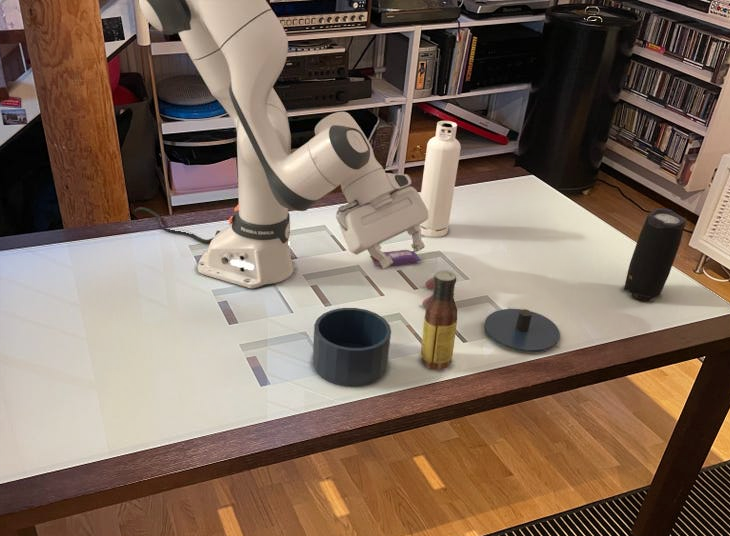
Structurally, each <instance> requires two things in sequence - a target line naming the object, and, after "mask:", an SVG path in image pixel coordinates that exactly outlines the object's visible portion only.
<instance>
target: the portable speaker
mask: <svg viewBox="0 0 730 536" xmlns="http://www.w3.org/2000/svg"><path fill="white" fill-rule="evenodd" d="M686 225H687V217H684V216H682V215H680V214H678V213H676V212H674V211H673V210H672V209H670V208H666V207H665V208H663V207H662V208H654V209H653V210H652V211H650V212H649V213H648V214H647V216H646V218H645V221H644V223H643V226H642V228H641V230H640V231H639V232H640V233H639V236H638V238H637V242H636V245H635V247H634V250H633V253H632V256H631V259H630V261H629V265H628V270H627V272H626V273H627V274H626V278H625V282H624V288H623V290H624V291H627V292H628V293H629V294H630V295H631V297H632V299H634V300H637V301H639V302H651V301H652V300H654V299H655V298H657V297H659V296H660V295H661V294H662V292H663V290H664V287H665V284H666V283H667V280H668V278H669V275H670V273H671V271H672V269H673V265H674V262H675V259H676V256H677V253H678V250H679V249H680V245H681V241H682V238H683V234H684V229H685V227H686Z"/></svg>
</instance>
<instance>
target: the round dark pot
mask: <svg viewBox="0 0 730 536" xmlns="http://www.w3.org/2000/svg"><path fill="white" fill-rule="evenodd" d="M313 326H314V327H313V345H312V366H313V369H314V371H315V372H316V373H317V375H318V376H319V377H321V378H322V379H324V380H325V381H327V382H329V383H331V384H335V385H338V386H342V387H350V388H351V387H352V388H353V387H355V388H356V387H364V386H368V385H371V384H374V383H376V382H377V381H379V380H380V379H382V378H383V376H384V375H385V374H386V371H387V367H388V363H389V354H390V346H391V337H392V330H391V325H390V323H389V322H388V321H387V320H386V318H384V317H382V316H381V315H380V314H378V313H376V312H374V311H371V310H368V309H364V308H359V307H340V308H335V309H331V310H328V311H326V312H324V313H322V314H320V315H319V317H317V319H316V320H315V323H314V325H313Z"/></svg>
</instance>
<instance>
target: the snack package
mask: <svg viewBox="0 0 730 536" xmlns="http://www.w3.org/2000/svg"><path fill="white" fill-rule="evenodd" d="M382 252H383V253H384V254H385V255H386V256H388V255H390V257H391V259H392V260H393V264H392V265H390V266H389V267H393V266H394V267H396V266H403V265H404V266H405V265H410V264H414V263H417V262H421V261H422V259H421V257H420V256H419V255H418V254H417V252H415V251H414V250H410V249H401V250H400V249H399V250H392V251H382ZM369 257H370V258H371V260H372V261H373V263H374V264H375V265H376V266H377V267H379V266H380V267H382V266H381V264H380V262H379V261H378V260H376V259H375V258H374V257H372V256H371V255H369Z"/></svg>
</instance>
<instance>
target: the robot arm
mask: <svg viewBox="0 0 730 536" xmlns="http://www.w3.org/2000/svg"><path fill="white" fill-rule="evenodd" d="M137 1H138V4H139V8H140V10H141V13H142V15H143V16H144V18H145V19H146V21H147V22H148V23H149V24H150V25H151V26H152V27H153V28H154V29H155V30H156V31H157V32H158V33H160V34H163V35H168V36H172V35H173V36H174V35H176V34H178V36H179V38H180V41H181V43H182V44H183V47H184V49H185V50H186V52H187V55H188V56H189V57H190V60H191V61H192V63H193V64H194V67H195V68H196V70H197V71H198V73H199V75H200V76H201V78H202V80H203V82H204V83H205V85H206V87H207V88H208V90H209V91H210V93H211V96H212V97H214V98H215V100H217V101H218V103H219V104H220V105H221V106H222V107H223V109H224V111H225V112H226V113H227V114H228V116H229V117H230V118H231V120H232V122H233V124H234V126H235V130H236V152H237V153H236V154H237V157H236V158H237V186H238V187H237V189H238V191H237V192H238V193H237V194H238V196H237V197H238V204H237V205H236V206H235V208H233V209H234V211H233V212H232V213H231V215H230V217H229V219H228V226H227V227H225V228H223V229H222V230H216V231H215V235H214V236H213V237H211V238H208V239H204V238H201V237H199V236H197V235H196V234H195V233H192V234H189V233H186V232H181V231H175V230H170V229H171V228H170V229H166V228H164V227H162V226H161V225H160V222H159V219H158V218H161V219H162V220H163V218H162V217H161V216H160V214H158V213H157V212H155V211H153V210H152V209H150V208H147V207H143V206H139V207H137V208H135V209H134V213H139V212H145V213H148V214H150V215H152V217H153V216H154V217H155V218H157V220H158V225H159V227H160V228H161V229H162V230H164V231H166V232H168V233H173V234H180V235H184V236H188V237H190V238H192V239H194V240H196V241H197V242H199V243H202V244H209V245H208V249H207V250H206V251H205V252H204V253H203V254H202V256H201V257H200V259H199V261H198V263H197V271H198V274H201V275H204V276H208V277H210V278H214V279H217V280H221V281H223V282H227V283H231V284H234V285H238V286H240V287H244V288H247V289H257V288H259V287H262V286H265V285H271V284H276V283H280V282H282V281H283V282H284V281H285V280H287V279H289V278H290V277H291V276H292V275H293V273H294V271H295V268H294V264H293V260H292V257H291V250H290V241H289V239H290V235H291V216H290V212H289V210H292V211H297V212H306V211H307V210H308V209H310V208H311V207H312V206H313V205H314V204H316V203H317V202H319V200H320V199H321V198H323V197H324V196H326V195H328V194H329V193H330V192H332V191H333V190H335V189H336V188H338V187H339V186H340V189H341V192H342V194H343V196H344V197H345V199H346V201H347V204H345V205H341V206H339V207H338V209H337V211H336V215H335V218H336V221H337V223H338V225H339V227H340V230H341V234H342V236H343V239H344V241H345V243H346V245H347V247H348V250H349V251H350V252H351V253H352V254H354V255H356V256H357V255H359V254H361V253H363V252H366V251H367V252H368V255H369V256H372V257H374V258H375V259H376V260H378V261H379V262H380V264H381V266H380V267H381V268H383V269H386V268H388V267H391V266H390V265H392V264H393V260H392V259H391V257H390V255H388V256H386V255H385V254H384V253H383V252H384V251H382V246H381V244H383V243H384V242H387V241H389V240H391V239H393V238H395V237H397V236H399V235H401V234H403V233H405V232H407V233H408V235H409V236H411V239H412V243H411V244H410V246H411V248H412V249H413V250H412V251H414V252H415V253H417V252H420V251H421V250H423V249H425V243H424V242H423V240H422V234H421V228H420V227H421V226H420V227H419V224H421V223H423V222H424V221H426V220H427V219H428V210H427V208H426V206H425V204H424V202H423V200H422V199H421V194H419V192H418V191H417V189H416V188H415V187H413V186H411V184H412V180H411V179H412V178H411V177H410V176H409V175H408V174H407V173H391V172H386V171H385V169H384V167H383V166H382V164H380V163H379V162H378V160H377V159H376V157H375V153H374V148H373V147H372V145H371V143H370V141H369V139H368V138H367V136H366V135H365V133H364V131H363V130H362V128H361V126H359V124H358V122H356V120H355V119H354V117H353V116H351V114H350V113H348V112H346V111H337V112H334V113H330V114H328V115H326V116H325V117H323V118H322V119H320V120H319V122H318V123H317V124H316V125H315V127H314V136H313V137H312V138H311V139H309V140H308V141H307V142H305V143H304V144H303V145H302V146H300V147H298V148H297V149H296V150H295V151H293V152H291V149H292V135H291V130H290V122H289V118H288V112H287V110H286V108H285V106H284V104H283V102H282V101H281V98H280V97H279V95H278V94H277V92H276V90H275V89H274V85H275V84H276V82H277V80H278V78H279V77H280V75H281V74H282V71H283V69H284V67H285V64H286V61H287V58H288V52H289V41H288V35H287V33H286V31H285V29H284V27H283V25H282V23H281V21H280V20H279V18H278V17H277V15H276V14H275V12H274V11H273V9H272V7H271V6H270V5H269V3H268V1H267V0H137Z"/></svg>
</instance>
